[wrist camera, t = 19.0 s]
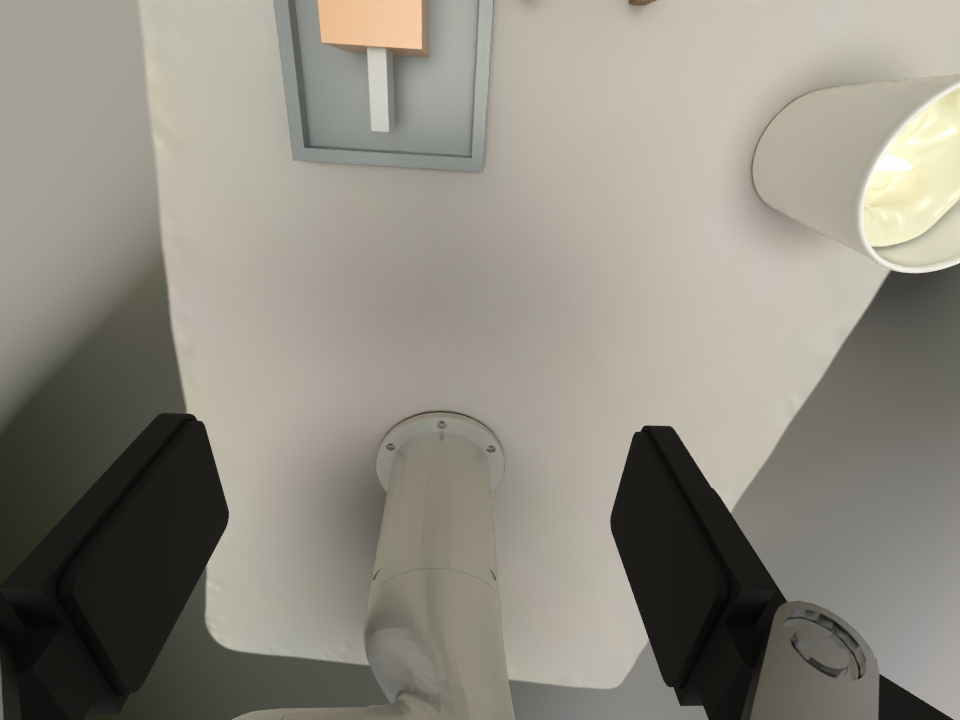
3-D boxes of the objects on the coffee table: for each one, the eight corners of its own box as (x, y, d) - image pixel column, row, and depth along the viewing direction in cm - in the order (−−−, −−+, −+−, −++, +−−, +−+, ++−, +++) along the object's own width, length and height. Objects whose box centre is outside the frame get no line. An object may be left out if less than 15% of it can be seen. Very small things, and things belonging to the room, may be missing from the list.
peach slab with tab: (428, 127, 32) (422, 136, 26) (354, 123, 32) (329, 130, 26) (429, -90, 27) (420, -143, 21) (339, -98, 26) (303, -154, 20)
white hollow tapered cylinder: (822, 41, 31) (1006, 16, 21) (908, 130, 34) (1107, 149, 24) (712, 175, 35) (820, 212, 24) (797, 245, 38) (926, 304, 27)
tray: (481, 167, 34) (482, 171, 32) (301, 156, 33) (293, 160, 31) (500, -159, 26) (504, -176, 24) (263, -184, 25) (248, -204, 23)
